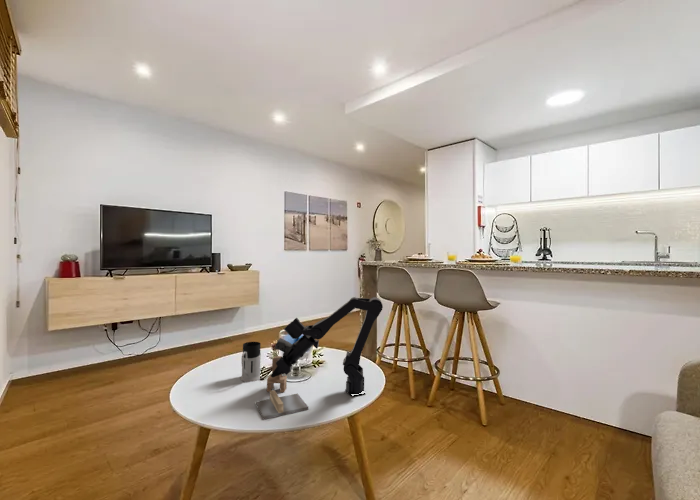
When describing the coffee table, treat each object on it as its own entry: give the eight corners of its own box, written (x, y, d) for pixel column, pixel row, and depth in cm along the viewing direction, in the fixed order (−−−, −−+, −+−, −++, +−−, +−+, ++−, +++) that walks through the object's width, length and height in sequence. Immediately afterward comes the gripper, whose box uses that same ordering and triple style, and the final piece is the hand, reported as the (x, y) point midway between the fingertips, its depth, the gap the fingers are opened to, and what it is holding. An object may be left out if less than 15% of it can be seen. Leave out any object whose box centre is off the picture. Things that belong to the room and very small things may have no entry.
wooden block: (286, 388, 135) (287, 356, 135) (284, 392, 131) (284, 359, 131) (269, 387, 135) (270, 356, 135) (266, 391, 131) (267, 359, 131)
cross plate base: (297, 396, 128) (297, 385, 128) (308, 409, 117) (308, 398, 117) (255, 404, 120) (255, 393, 120) (263, 419, 110) (263, 407, 110)
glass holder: (264, 374, 149) (264, 341, 149) (251, 387, 135) (252, 351, 135) (245, 373, 150) (246, 340, 150) (231, 386, 136) (232, 350, 136)
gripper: (292, 327, 142) (266, 352, 143) (281, 338, 124) (252, 367, 124) (310, 346, 142) (284, 370, 143) (302, 360, 123) (272, 388, 124)
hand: (273, 373), depth 133 cm, fingers open, 6 cm apart
